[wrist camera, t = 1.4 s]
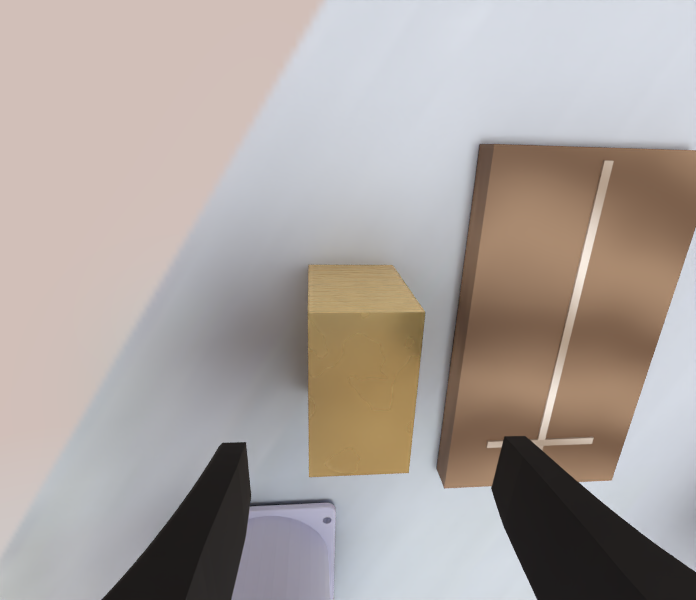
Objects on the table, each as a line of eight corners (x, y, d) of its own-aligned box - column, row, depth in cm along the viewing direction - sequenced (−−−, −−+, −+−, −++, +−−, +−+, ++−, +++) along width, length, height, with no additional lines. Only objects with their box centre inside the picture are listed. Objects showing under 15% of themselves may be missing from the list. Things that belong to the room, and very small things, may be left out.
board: (594, 461, 25) (612, 481, 23) (436, 468, 24) (444, 489, 23) (690, 150, 19) (723, 151, 17) (480, 144, 18) (495, 144, 16)
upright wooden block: (383, 389, 22) (408, 472, 16) (309, 391, 22) (308, 477, 16) (392, 264, 19) (425, 312, 14) (308, 264, 19) (307, 312, 13)
